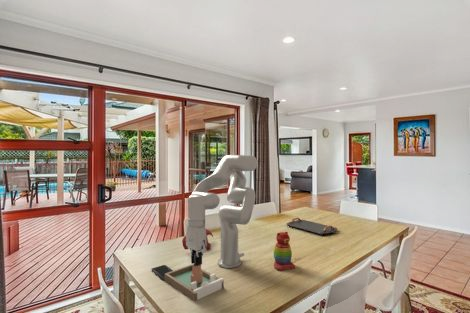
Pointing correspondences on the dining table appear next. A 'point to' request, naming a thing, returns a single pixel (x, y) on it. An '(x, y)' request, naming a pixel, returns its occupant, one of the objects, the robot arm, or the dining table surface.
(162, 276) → the phone
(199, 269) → the kicker
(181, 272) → the pitch
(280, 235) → the stacking bear
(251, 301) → the dining table surface
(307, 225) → the serving board
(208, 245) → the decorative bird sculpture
